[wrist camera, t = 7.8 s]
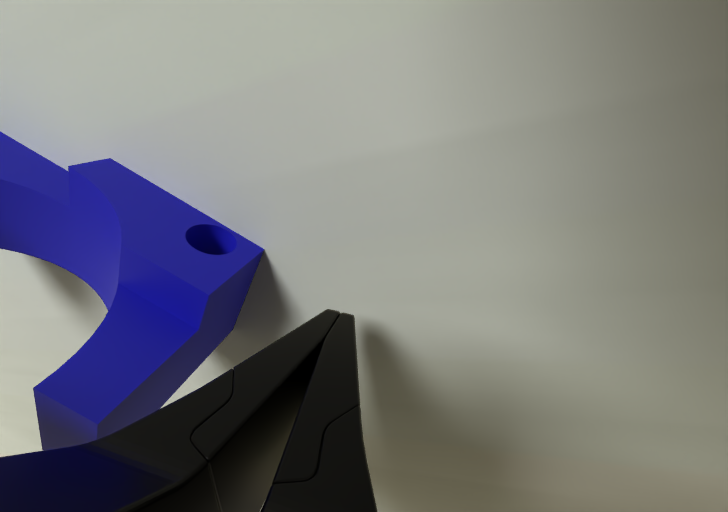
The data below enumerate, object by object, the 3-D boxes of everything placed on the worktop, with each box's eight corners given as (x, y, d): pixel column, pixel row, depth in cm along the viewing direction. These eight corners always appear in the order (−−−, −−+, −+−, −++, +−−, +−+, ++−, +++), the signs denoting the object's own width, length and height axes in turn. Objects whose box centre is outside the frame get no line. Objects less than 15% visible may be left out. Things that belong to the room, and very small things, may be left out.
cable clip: (266, 247, 11) (99, 386, 6) (234, 327, 13) (94, 478, 8) (-42, 64, 11) (-518, 36, 5) (-21, 179, 13) (-339, 236, 8)
